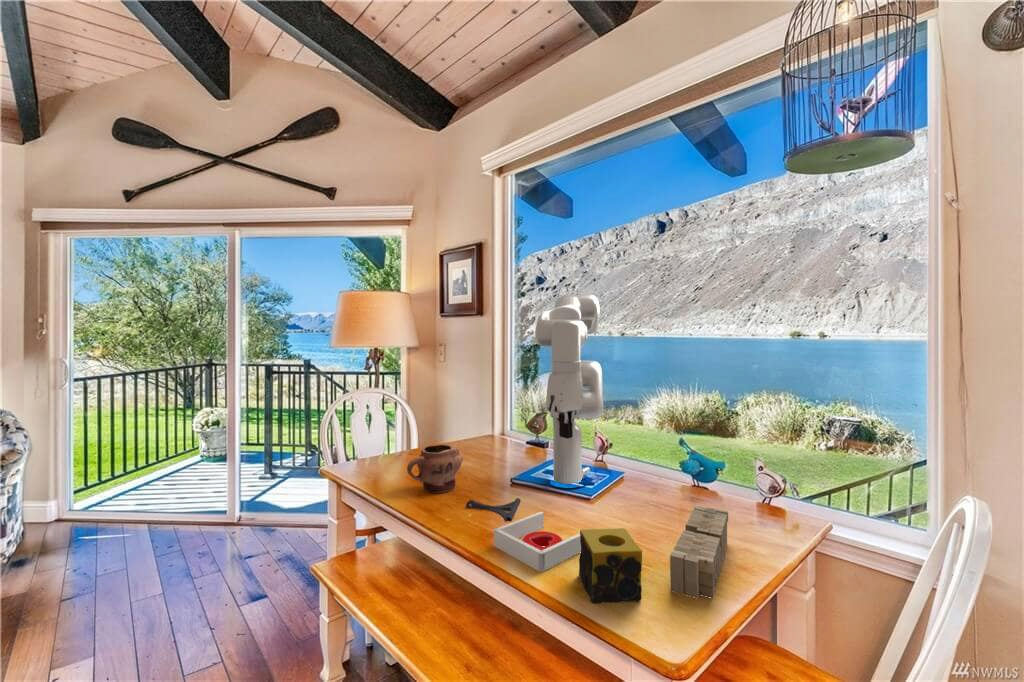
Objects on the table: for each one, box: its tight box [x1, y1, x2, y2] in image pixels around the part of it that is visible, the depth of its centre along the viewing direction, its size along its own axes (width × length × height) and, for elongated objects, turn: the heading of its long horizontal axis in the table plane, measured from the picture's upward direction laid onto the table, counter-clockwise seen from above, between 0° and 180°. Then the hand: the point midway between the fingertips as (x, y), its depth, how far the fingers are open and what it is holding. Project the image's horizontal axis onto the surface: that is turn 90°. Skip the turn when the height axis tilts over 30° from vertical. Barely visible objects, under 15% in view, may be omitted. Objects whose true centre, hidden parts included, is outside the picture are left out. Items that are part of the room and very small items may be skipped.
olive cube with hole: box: [578, 527, 643, 604], centre depth 90 cm, size 10×10×10 cm
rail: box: [493, 511, 581, 573], centre depth 107 cm, size 16×16×4 cm
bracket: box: [465, 497, 521, 522], centre depth 130 cm, size 14×15×3 cm
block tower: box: [669, 504, 729, 599], centre depth 99 cm, size 8×8×29 cm
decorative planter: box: [406, 444, 464, 494], centre depth 145 cm, size 20×12×14 cm, turn 136°
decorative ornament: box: [521, 530, 564, 551], centre depth 105 cm, size 10×10×3 cm
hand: (565, 437), depth 118 cm, fingers closed
